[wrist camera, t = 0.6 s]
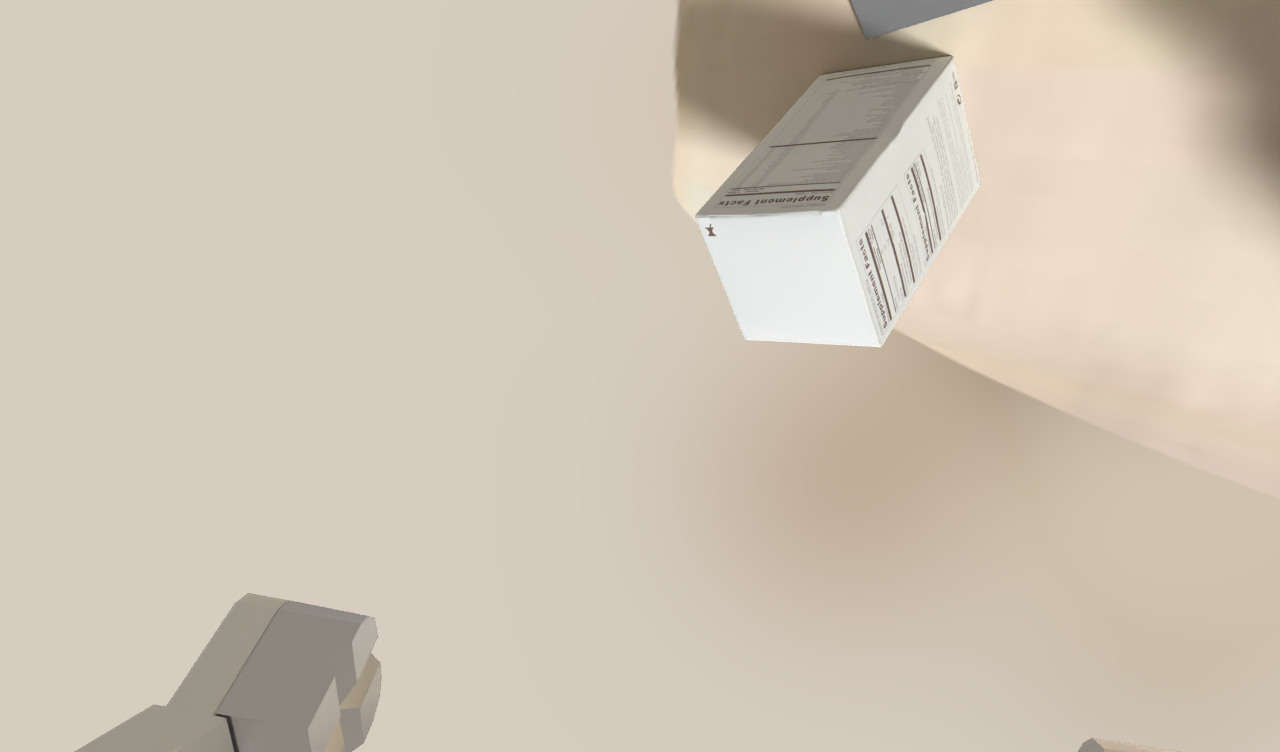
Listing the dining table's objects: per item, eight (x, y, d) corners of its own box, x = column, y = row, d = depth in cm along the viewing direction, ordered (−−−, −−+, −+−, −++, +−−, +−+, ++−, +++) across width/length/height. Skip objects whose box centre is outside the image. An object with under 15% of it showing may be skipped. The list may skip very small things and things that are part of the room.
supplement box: (852, 193, 68) (738, 343, 59) (816, 72, 63) (685, 215, 54) (986, 186, 62) (883, 353, 52) (958, 51, 57) (838, 210, 48)
